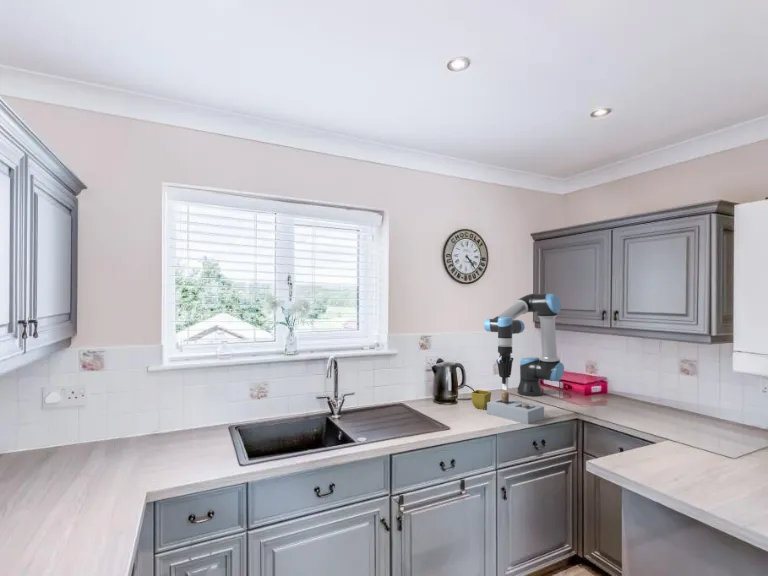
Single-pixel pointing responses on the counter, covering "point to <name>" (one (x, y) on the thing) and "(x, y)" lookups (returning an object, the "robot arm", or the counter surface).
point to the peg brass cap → (505, 397)
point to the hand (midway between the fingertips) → (505, 389)
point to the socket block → (515, 411)
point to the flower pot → (480, 398)
